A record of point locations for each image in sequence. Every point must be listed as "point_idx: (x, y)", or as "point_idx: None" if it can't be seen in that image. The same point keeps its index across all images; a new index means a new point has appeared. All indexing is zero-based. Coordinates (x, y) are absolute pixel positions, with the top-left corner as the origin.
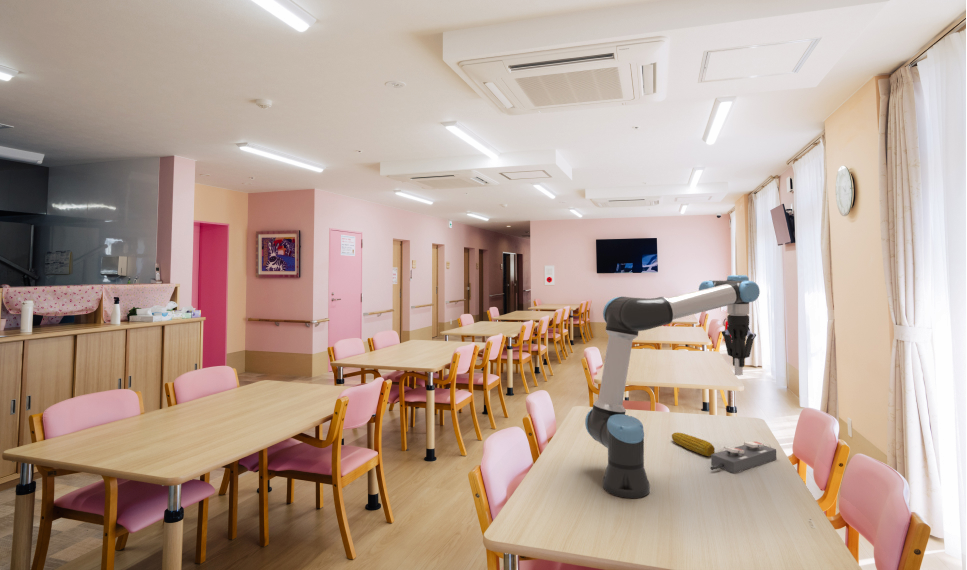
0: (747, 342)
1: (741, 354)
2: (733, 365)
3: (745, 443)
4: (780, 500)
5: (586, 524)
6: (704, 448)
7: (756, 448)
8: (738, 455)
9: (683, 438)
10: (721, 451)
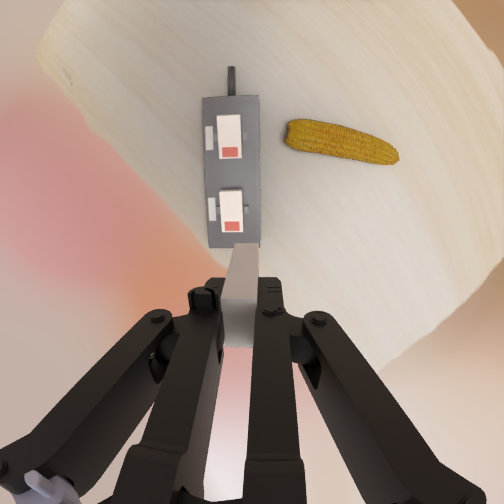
0: (62, 417)
1: (183, 330)
2: (275, 277)
3: (237, 190)
4: (110, 88)
5: None
6: (296, 120)
7: None
8: (217, 133)
9: (361, 134)
10: (258, 129)
